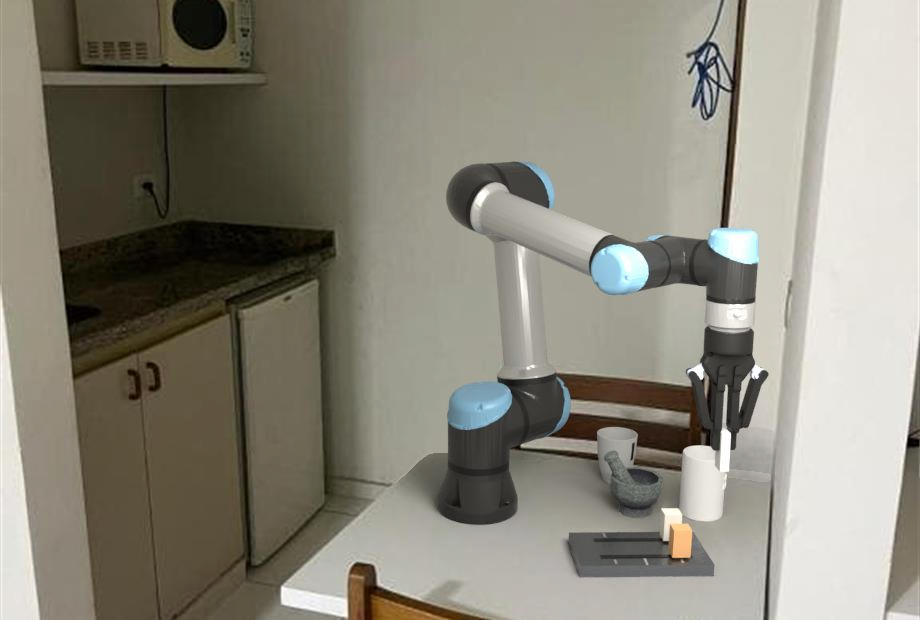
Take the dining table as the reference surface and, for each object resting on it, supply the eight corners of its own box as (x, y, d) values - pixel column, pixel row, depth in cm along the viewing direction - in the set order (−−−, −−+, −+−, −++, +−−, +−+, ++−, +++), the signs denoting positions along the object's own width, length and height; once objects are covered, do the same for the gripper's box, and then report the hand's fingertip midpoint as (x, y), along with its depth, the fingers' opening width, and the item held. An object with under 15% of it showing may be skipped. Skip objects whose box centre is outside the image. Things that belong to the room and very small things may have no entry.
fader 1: (663, 541, 157) (665, 514, 156) (659, 534, 160) (661, 508, 159) (680, 540, 157) (682, 514, 156) (676, 534, 160) (678, 508, 159)
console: (579, 577, 150) (580, 565, 149) (568, 543, 161) (568, 532, 161) (713, 575, 151) (714, 564, 150) (692, 542, 162) (693, 531, 162)
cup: (634, 489, 185) (637, 442, 182) (593, 485, 186) (596, 438, 184) (635, 473, 192) (637, 428, 190) (596, 470, 194) (598, 425, 192)
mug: (706, 494, 182) (710, 437, 180) (730, 521, 171) (735, 460, 168) (666, 496, 181) (669, 438, 179) (687, 522, 170) (692, 461, 167)
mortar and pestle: (654, 500, 179) (657, 442, 177) (666, 521, 170) (670, 460, 168) (597, 500, 179) (599, 442, 176) (606, 522, 170) (609, 460, 167)
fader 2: (672, 557, 151) (674, 530, 150) (668, 550, 154) (669, 523, 153) (690, 557, 152) (692, 530, 151) (686, 550, 154) (687, 523, 153)
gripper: (694, 332, 141) (688, 477, 146) (778, 331, 142) (769, 476, 146) (681, 322, 149) (676, 461, 153) (761, 321, 149) (753, 459, 154)
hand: (721, 468), depth 150 cm, fingers closed
